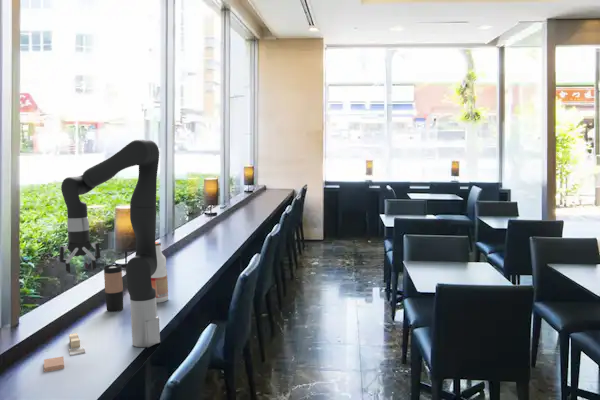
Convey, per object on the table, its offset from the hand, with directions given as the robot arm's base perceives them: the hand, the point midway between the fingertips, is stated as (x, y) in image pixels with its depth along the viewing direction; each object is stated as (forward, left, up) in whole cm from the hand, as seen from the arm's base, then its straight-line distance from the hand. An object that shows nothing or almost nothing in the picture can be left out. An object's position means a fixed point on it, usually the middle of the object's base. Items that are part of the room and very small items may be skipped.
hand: (81, 271), depth 205 cm
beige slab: (-6, +9, -26) cm, 28 cm away
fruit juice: (+12, -51, -26) cm, 59 cm away
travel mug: (+19, -31, -26) cm, 45 cm away
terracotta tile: (-11, +21, -26) cm, 35 cm away
